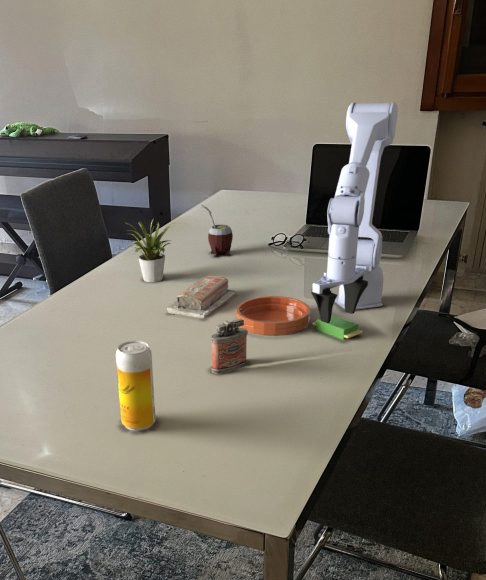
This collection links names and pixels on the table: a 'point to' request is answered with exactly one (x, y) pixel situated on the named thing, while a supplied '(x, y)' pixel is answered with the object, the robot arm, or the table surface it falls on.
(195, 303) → the packaged product
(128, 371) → the beer can
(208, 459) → the table surface
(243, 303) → the bowl
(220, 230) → the mate gourd
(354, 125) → the robot arm
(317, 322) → the eraser with green sleeve
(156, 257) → the house plant
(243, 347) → the lighter
